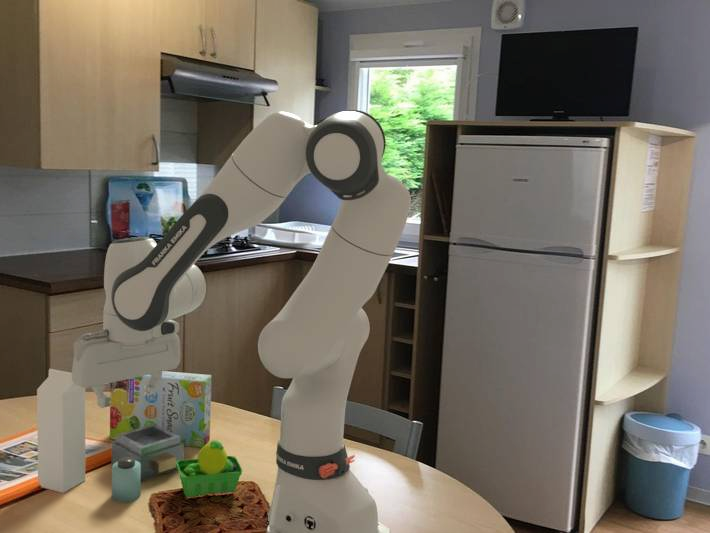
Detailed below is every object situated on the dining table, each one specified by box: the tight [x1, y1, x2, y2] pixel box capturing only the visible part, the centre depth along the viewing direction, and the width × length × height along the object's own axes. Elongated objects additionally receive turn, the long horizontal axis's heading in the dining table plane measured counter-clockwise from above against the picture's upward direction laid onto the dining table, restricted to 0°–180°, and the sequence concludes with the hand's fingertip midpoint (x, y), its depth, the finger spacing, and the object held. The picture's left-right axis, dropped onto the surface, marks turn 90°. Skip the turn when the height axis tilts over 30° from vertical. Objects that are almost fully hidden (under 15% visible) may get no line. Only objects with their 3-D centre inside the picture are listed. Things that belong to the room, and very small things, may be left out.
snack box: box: [109, 370, 213, 449], centre depth 162 cm, size 21×6×15 cm, turn 84°
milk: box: [36, 368, 86, 494], centre depth 138 cm, size 6×6×22 cm
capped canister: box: [111, 457, 141, 504], centre depth 136 cm, size 5×5×7 cm
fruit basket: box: [176, 440, 243, 498], centre depth 139 cm, size 11×9×11 cm
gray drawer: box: [111, 424, 185, 483], centre depth 148 cm, size 12×10×6 cm
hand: (127, 400), depth 135 cm, fingers open, 8 cm apart
